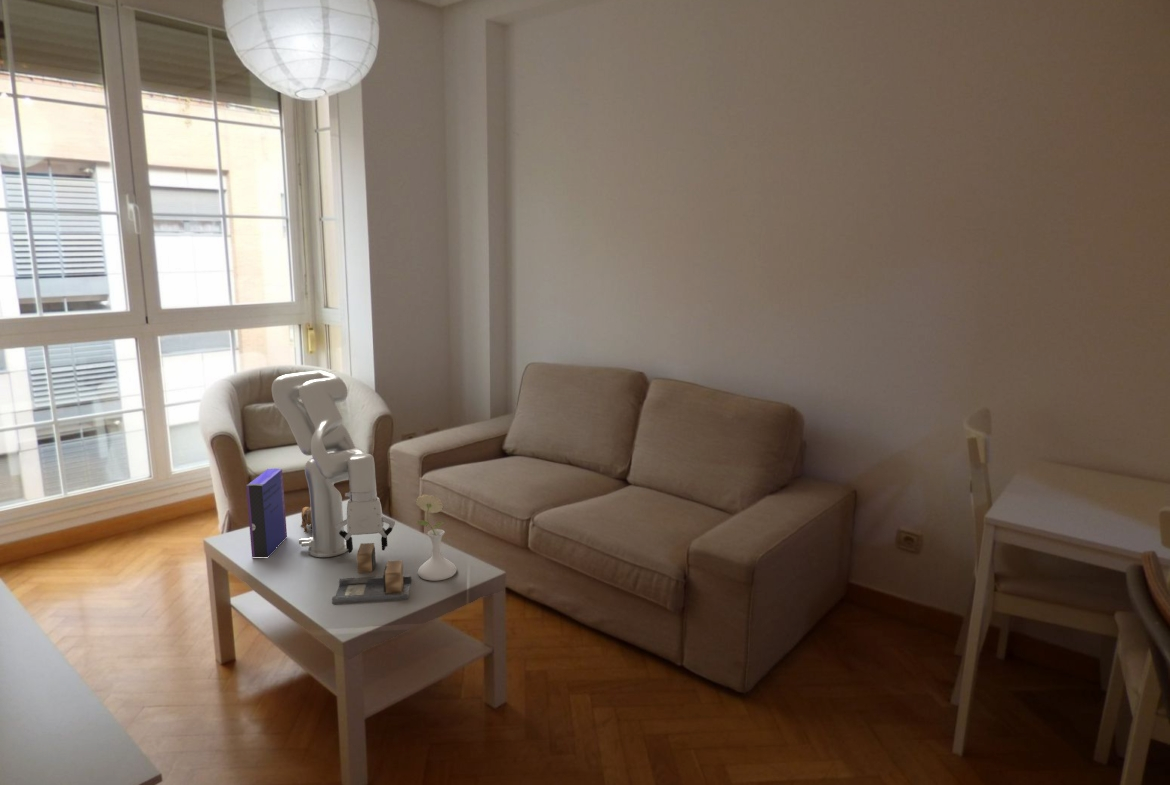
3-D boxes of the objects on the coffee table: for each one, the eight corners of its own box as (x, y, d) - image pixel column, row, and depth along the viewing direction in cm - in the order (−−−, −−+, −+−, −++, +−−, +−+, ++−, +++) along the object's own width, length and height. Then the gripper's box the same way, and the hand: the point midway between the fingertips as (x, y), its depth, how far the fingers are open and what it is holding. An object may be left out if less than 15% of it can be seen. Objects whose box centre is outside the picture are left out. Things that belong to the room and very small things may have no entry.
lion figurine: (322, 532, 257) (320, 507, 255) (306, 536, 254) (304, 510, 252) (310, 520, 268) (308, 496, 267) (294, 523, 265) (292, 498, 264)
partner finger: (383, 596, 208) (382, 573, 207) (387, 584, 216) (386, 561, 215) (400, 595, 209) (399, 572, 208) (403, 583, 217) (402, 560, 215)
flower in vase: (464, 573, 226) (462, 494, 221) (439, 588, 216) (436, 505, 211) (431, 564, 232) (429, 486, 227) (405, 577, 223) (402, 497, 218)
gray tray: (332, 606, 204) (332, 598, 204) (340, 586, 216) (339, 578, 216) (407, 602, 207) (407, 594, 207) (411, 582, 219) (411, 574, 219)
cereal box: (272, 537, 253) (267, 468, 248) (287, 537, 253) (282, 468, 248) (252, 558, 235) (246, 485, 231) (267, 558, 236) (261, 485, 231)
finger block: (358, 576, 224) (356, 554, 222) (362, 565, 231) (360, 543, 230) (372, 575, 224) (371, 553, 223) (376, 564, 232) (375, 542, 231)
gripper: (330, 501, 218) (335, 557, 221) (392, 497, 221) (395, 552, 223) (335, 493, 225) (339, 547, 228) (394, 489, 228) (398, 543, 231)
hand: (367, 550), depth 226 cm, fingers open, 9 cm apart
